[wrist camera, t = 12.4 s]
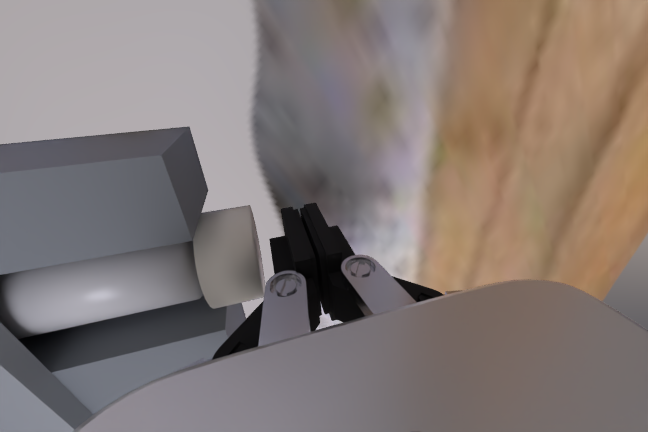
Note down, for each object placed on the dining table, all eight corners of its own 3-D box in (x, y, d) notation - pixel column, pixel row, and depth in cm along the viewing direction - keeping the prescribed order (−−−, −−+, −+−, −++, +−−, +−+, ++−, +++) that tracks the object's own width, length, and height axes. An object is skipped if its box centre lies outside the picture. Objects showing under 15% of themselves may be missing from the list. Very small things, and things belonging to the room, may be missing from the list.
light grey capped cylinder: (-23, 230, 10) (-157, 311, 7) (248, 191, 12) (249, 237, 9) (39, 303, 12) (-41, 393, 9) (262, 258, 14) (268, 317, 11)
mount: (-139, 157, 8) (-1010, 355, 3) (189, 126, 10) (118, 198, 5) (125, 433, 18) (68, 603, 13) (267, 390, 20) (276, 520, 15)
